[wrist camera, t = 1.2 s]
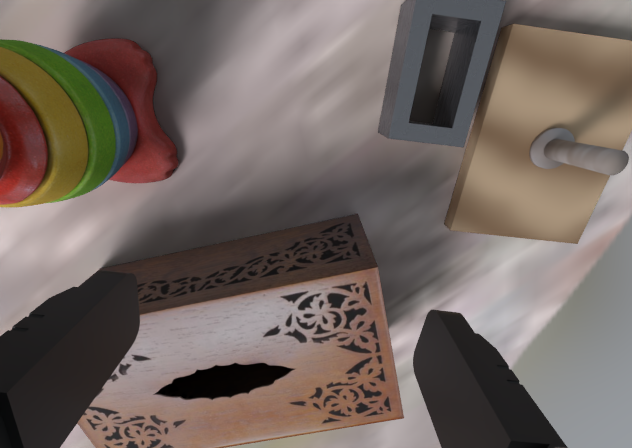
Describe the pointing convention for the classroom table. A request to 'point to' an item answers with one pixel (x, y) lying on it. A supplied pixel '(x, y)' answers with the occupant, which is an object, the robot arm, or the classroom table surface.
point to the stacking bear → (77, 120)
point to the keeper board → (545, 135)
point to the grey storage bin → (461, 72)
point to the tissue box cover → (252, 344)
